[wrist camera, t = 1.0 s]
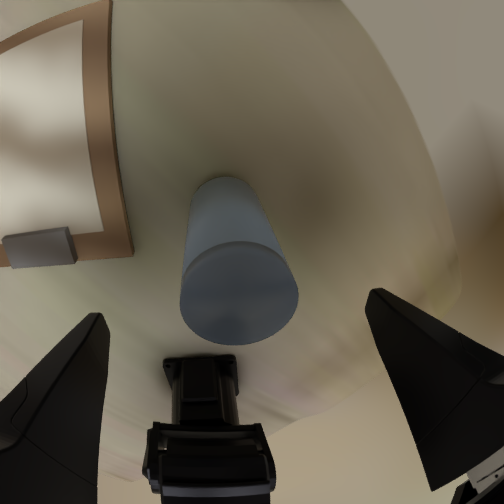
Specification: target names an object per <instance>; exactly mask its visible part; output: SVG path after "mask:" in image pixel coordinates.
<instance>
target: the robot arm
mask: <svg viewBox="0 0 504 504" xmlns="http://www.w3.org/2000/svg"><path fill="white" fill-rule="evenodd" d="M365 314H366V317H367V319H368V322H369V325H370V328H371V331H372V334H373V337H374V341H375V344H376V346H377V349H378V351H379V354H380V356H381V358H382V361H383V363H384V365H385V368H386V370H387V372H388V375H389V377H390V379H391V382H392V384H393V387H394V389H395V391H396V394H397V396H398V398H399V401H400V404H401V406H402V409H403V411H404V414H405V416H406V419H407V422H408V424H409V427H410V430H411V432H412V435H413V438H414V441H415V444H416V447H417V450H418V453H419V455H420V458H421V461H422V464H423V467H424V470H425V473H426V477H427V480H428V483H429V486H430V489H431V491H435V490H437V489H439V488H440V487H442V486H444V485H446V484H448V483H450V482H451V481H453V480H455V479H456V478H458V477H460V476H461V475H463V474H465V473H467V476H468V478H469V479H468V480H467V481H465V482H464V483H462V484H461V485H459V486H458V487H457V488H456V491H455V494H454V496H453V499H452V502H451V504H504V356H503V355H501V354H498V353H497V352H495V351H493V350H491V349H489V348H487V347H485V346H483V345H481V344H479V343H477V342H475V341H474V340H472V339H470V338H468V337H467V336H465V335H463V334H462V333H460V332H459V333H458V331H456V330H455V329H453V328H451V327H450V326H448V325H446V324H445V323H443V322H441V321H440V320H438V319H436V318H434V317H433V316H431V315H429V314H427V313H426V312H424V311H422V310H421V309H419V308H417V307H415V306H413V305H412V304H410V303H408V302H406V301H405V300H403V299H401V298H399V297H398V296H396V295H394V294H392V293H390V292H389V291H387V290H385V289H383V288H375V289H372V290H371V291H370V292H369V296H368V299H367V302H366V306H365ZM109 347H110V331H109V328H108V326H107V324H106V321H105V319H104V316H103V315H102V313H99V312H98V313H89V314H88V315H87V316H86V317H85V318H84V319H83V320H82V321H81V322H80V323H79V324H77V325H76V326H75V327H74V328H73V329H72V330H71V331H70V332H69V333H68V334H67V335H66V336H65V337H64V338H63V339H62V340H61V341H60V342H59V343H58V344H57V345H56V346H55V347H54V348H53V349H52V350H51V351H50V352H49V353H48V354H47V355H46V356H45V357H44V358H43V359H42V360H41V361H40V362H39V363H38V364H37V365H36V366H35V367H34V368H33V369H32V370H31V371H30V372H29V373H28V374H27V375H26V377H24V378H23V379H22V380H21V382H20V383H19V384H18V385H17V386H16V387H15V388H14V389H13V390H12V391H11V392H10V393H9V394H8V395H7V396H6V397H5V398H4V399H3V400H2V401H1V402H0V504H97V477H98V457H99V443H100V432H101V422H102V413H103V405H104V398H105V391H106V384H107V377H108V361H109ZM163 368H164V371H165V374H166V376H167V379H168V381H169V384H170V386H171V389H172V424H166V423H160V422H153V428H151V429H148V430H147V446H146V452H145V457H144V462H143V467H142V474H143V475H144V476H145V477H146V478H147V479H148V480H149V484H150V485H151V489H152V492H153V493H155V494H161V503H162V504H270V492H272V491H274V489H275V486H276V470H275V464H274V460H273V457H272V454H271V451H270V448H269V446H268V443H267V440H266V437H265V434H264V431H263V428H262V425H261V423H254V424H252V425H240V424H239V417H238V410H237V403H236V396H237V395H238V394H239V390H238V376H237V362H236V357H235V356H231V355H230V356H217V357H203V358H186V359H166V360H164V361H163ZM164 448H167V450H164Z"/></svg>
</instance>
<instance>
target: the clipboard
mask: <svg viewBox="0 0 504 504" xmlns="http://www.w3.org/2000/svg"><path fill="white" fill-rule="evenodd" d="M111 17H112V0H102V1H98V2H95V3H91V4H88V5H85V6H82V7H79V8H76V9H73V10H70V11H67V12H64V13H62V14H59V15H56V16H54V17H51V18H49V19H47V20H44V21H42V22H40V23H37V24H35V25H33V26H31V27H29V28H27V29H24V30H22V31H20V32H18V33H16V34H15V35H13V36H11V37H9V38H7V39H5V40H3V41H2V42H0V267H8V266H11V267H12V269H15V268H28V267H41V266H54V265H67V264H75V263H76V261H82V260H95V259H107V258H120V257H133V254H134V247H133V243H132V238H131V233H130V229H129V224H128V219H127V213H126V208H125V202H124V196H123V190H122V184H121V178H120V171H119V164H118V156H117V148H116V139H115V129H114V118H113V104H112V87H111Z"/></svg>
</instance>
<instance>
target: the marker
mask: <svg viewBox="0 0 504 504" xmlns="http://www.w3.org/2000/svg"><path fill="white" fill-rule="evenodd" d="M297 304H298V288H297V285H296V282H295V280H294V277H293V275H292V273H291V270H290V268H289V266H288V264H287V261H286V259H285V257H284V255H283V252H282V250H281V248H280V246H279V243H278V241H277V239H276V237H275V234H274V232H273V230H272V228H271V226H270V223H269V221H268V219H267V217H266V215H265V212H264V210H263V208H262V206H261V204H260V201H259V199H258V197H257V195H256V193H255V192H254V190H253V189H252V188H251V187H250V186H249V185H248V184H247V183H245V182H244V181H242V180H240V179H237V178H233V177H218V178H214V179H212V180H209V181H208V182H206V183H204V184H203V185H202V186H201V187H200V188H199V189H198V190H197V191H196V192H195V194H194V196H193V198H192V201H191V205H190V212H189V219H188V227H187V235H186V244H185V253H184V262H183V272H182V282H181V294H180V311H181V314H182V317H183V319H184V321H185V323H186V324H187V325H188V327H189V328H190V329H191V330H192V331H193V332H195V333H196V334H197V335H199V336H200V337H202V338H204V339H206V340H208V341H211V342H214V343H218V344H223V345H245V344H251V343H255V342H258V341H261V340H264V339H266V338H268V337H270V336H272V335H274V334H275V333H276V332H278V331H279V330H281V329H282V328H283V327H284V326H285V325H286V324H287V323H288V322H289V320H290V319H291V318H292V316H293V314H294V312H295V310H296V307H297Z"/></svg>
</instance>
